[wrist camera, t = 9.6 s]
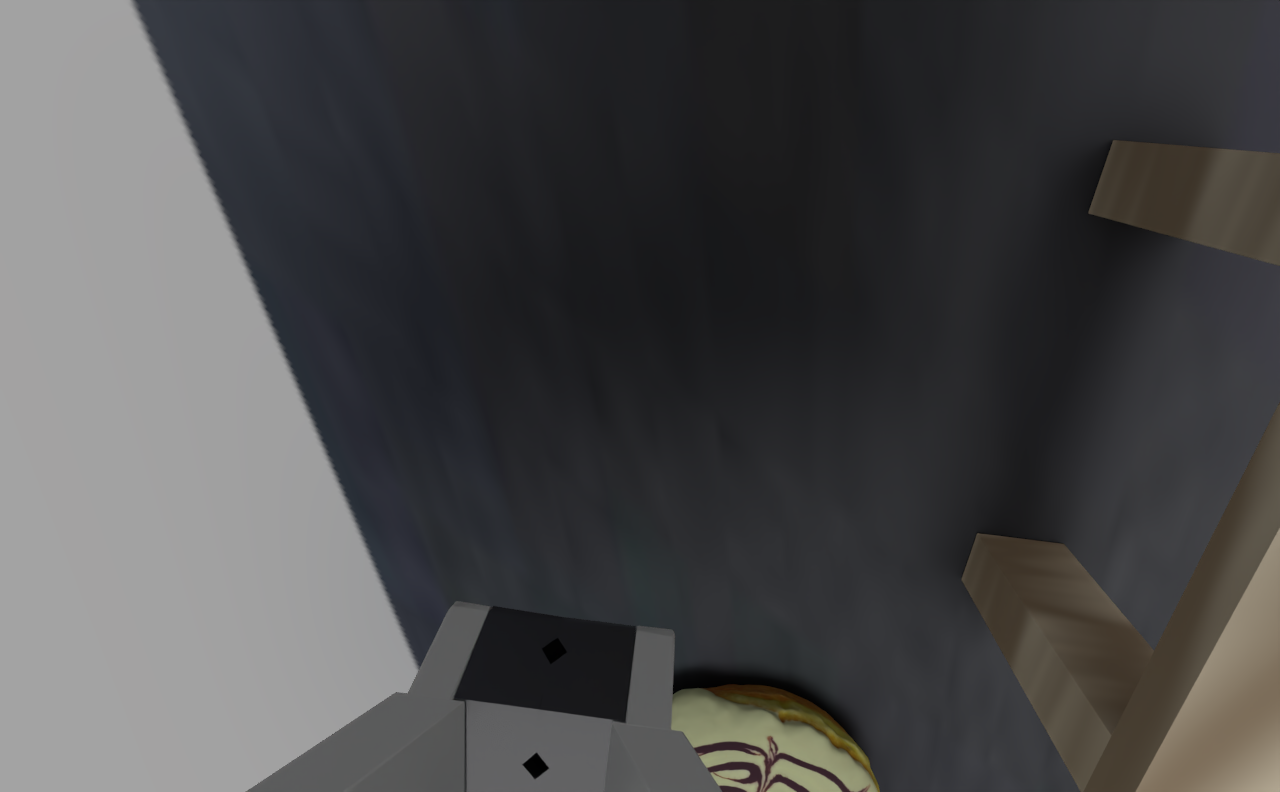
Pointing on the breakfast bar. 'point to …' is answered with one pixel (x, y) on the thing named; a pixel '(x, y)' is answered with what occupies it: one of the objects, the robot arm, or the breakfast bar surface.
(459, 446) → the breakfast bar surface
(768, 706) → the decorated donut
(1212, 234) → the bridge
